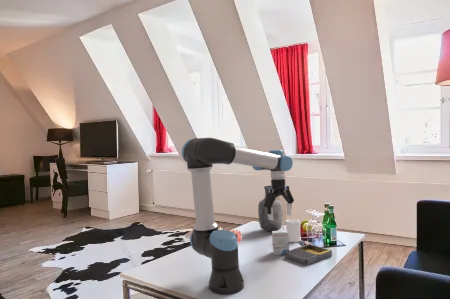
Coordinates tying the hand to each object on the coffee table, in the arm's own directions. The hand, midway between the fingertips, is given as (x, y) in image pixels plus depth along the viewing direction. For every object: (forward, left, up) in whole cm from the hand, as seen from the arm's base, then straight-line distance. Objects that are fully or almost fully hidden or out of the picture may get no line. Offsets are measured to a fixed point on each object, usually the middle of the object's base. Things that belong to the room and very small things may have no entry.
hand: (280, 217), depth 186 cm
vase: (+24, +36, -19) cm, 48 cm away
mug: (+20, +13, -19) cm, 31 cm away
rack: (+5, -14, -19) cm, 24 cm away
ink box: (-1, 0, -20) cm, 20 cm away
